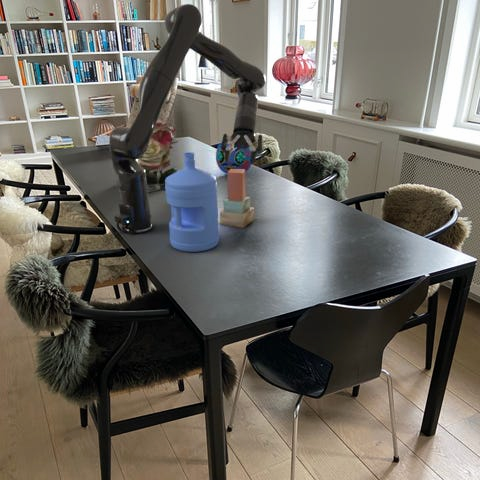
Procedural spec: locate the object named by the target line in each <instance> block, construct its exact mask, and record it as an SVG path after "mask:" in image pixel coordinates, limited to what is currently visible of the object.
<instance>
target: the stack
mask: <svg viewBox="0 0 480 480" xmlns="http://www.w3.org/2000/svg"><path fill="white" fill-rule="evenodd" d="M222 202H223V209H222V210H221V211H219V224H220V225H223V226H229V227H235V228H242V229H244V228H245V227H246V226H247V225H249V224H251V223H252V222H254V220H255V207H251V197H250V196H246V197H245V198H244V200H243V201H232V200H228V197H227V198H224V199H223V201H222Z"/></svg>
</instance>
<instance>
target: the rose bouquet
mask: <svg viewBox="0 0 480 480" xmlns="http://www.w3.org/2000/svg"><path fill="white" fill-rule="evenodd" d="M168 121H169V117H166V119H165V118H164V117H163V116H160V115H159V117H158V119H157V122H156V124H155V127H154V130H153V133H152V136H151V139H150V142H149V145H148V148H147V150H146V152H145V154H144V155H143V156H142V157H141V158H139V159H137V161H138V163H139V164H140V166H142V167H143V168H144V170H145V172H146V180H147V190H148V193H151V192H156V191H160V190H165V180H166V178H167V177H168V176H170V175H172V174H174V173H176V172H178V169H175V167H176V165H174V166H172V167H171V168H169V169H166V168H168V167H170V166H171V160H172V156H173V152H174V147H173V146H172V145H174V144H175V145H176V144H178V142H179V140H178V141H177V140H175V136H174V135H173V134H174V133H175V132H177V131H178V130H177V128H176V127H173V126H171V125H167V122H168ZM174 140H175V141H174ZM164 169H166V170H165V171H163V170H164Z"/></svg>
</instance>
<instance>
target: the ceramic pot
mask: <svg viewBox="0 0 480 480" xmlns="http://www.w3.org/2000/svg"><path fill="white" fill-rule="evenodd" d="M231 142H232V140H230V141H229V142H227V146H226V148H227V147H228V146H229V144H230V143H231ZM221 144H222V141H220V143H219V144H218V145H217V148H216V151H215V161H216V165H217V167H218V168H219V170H220V171H221V172H222V173H225V174H226V175H227V172H228V171H229V170H230V169H245V173H246V172H248V171H249V169H250V168H251V165H252V164H251V163H250V159H251V151H250V149H249V148H247V149H243V148H241V149H238V148H236V149H235V150H234V151H232V152H231V153H230V160H229V163H227V162H226V161H225V152H224V153H223V152H222V150H221Z"/></svg>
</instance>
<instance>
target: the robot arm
mask: <svg viewBox="0 0 480 480" xmlns="http://www.w3.org/2000/svg"><path fill="white" fill-rule="evenodd" d="M202 25H203V18H202V14H201V12H200V9H199V8H198V7H197V6H195V5H194V4H191V3H185V4H181V5H179V6H177V7H174V8H173V9H170V11H169V12H168V13H167V14H166V15H165V19H164V26H165V30H166V32H167V34H168V38H167V39H166V41H165V43H164V44H163V45H162V47H161V48H160V49H159V50H158V52H157V53H156V54H155V55H154V57H153V58H152V59H151V60H150V62H149V64H148V65H147V67H146V69H145V71H144V74H143V76H142V78H141V80H140V83H139V86H138V87H139V88H138V110H137V113H136V116H135V118H134V120H133V122H132V124H131V125H130V127H129V126H124V125H123V126H122V125H120V126H116V127H114V128H113V129H112V131H111V132H110V134H109V139H108V141H109V145H108V146H109V151H110V157H111V162H112V167H113V170H114V172H115V174H116V178H117V183H118V191H119V197H120V202H119V203H118V208H119V213H118V214H115V215H114V222H115V223H116V228H117V229H118V231H119V232H122V231H124V232H126V233H129V234H132V235H134V234H142V233H146V232H149V231H150V230H152V229H153V224H152V214H151V208H150V200H149V199H150V198H149V192H148V190H147V180H146V172H145V170H144V168H143V167H142V166H140V164H139V163H138V161H137V159H139V158H141V157H142V156H143V155H144V154H145V152H146V150H147V148H148V145H149V142H150V139H151V136H152V133H153V130H154V127H155V124H156V122H157V119H158V117H159V116H160V114H161V112H162V111H163V108H164V105H165V103H166V101H167V99H168V97H169V95H170V93H171V90H172V89H173V87H174V84H175V81H176V79H177V77H178V75H179V72H180V70H181V68H182V66H183V64H184V61H185V58H186V56H187V55H188V52H189V50H191V51H193V52H195V53H196V54H198V55H199V56H201V57H203V58H204V59H205V60H206V61H208V62H210V63H211V64H212V65H213V66H215V67H216V68H217V69H218V70H220V71H221V72H222V73H223V74H224V75H225V76H227V77H228V78H230V79H231V80H237V82H236V91H237V97H238V98H237V99H238V102H237V108H236V113H235V118H234V124H233V131H232V133H231V135H228V134H227V133H224V134H223V136H222V140H221V142H222V144H221V150H222V152H223V153H224V152H225V161H226V162H227V163H229V160H230V153H231V152H232V151H234V150H235V149H236V148H238V149H241V148H243V149H247V148H249V149H250V151H251V159H250V163H251V165H254V163H255V162H256V159H257V155H262V154H263V145H264V143H263V142H264V139H263V134H259V135H256V136H255V133H256V128H257V127H256V126H257V119H258V112H257V111H258V107H259V97H258V95H257V94H256V92H258V91H259V90H261V89H262V88H264V87H265V85H266V75H265V73H264V72H263V71H262V70H261V69H260V68H259V67H258V66H256V65H255V64H252V63H250V62H247V61H245V60H243V59H242V58H241V57H239V56H238V55H237V54H236V53H235V52H234V51H232V49H230V48H228V47H227V46H226V45H224V44H222V43H220V42H218V41H215V40H213V39H212V38H209V37H208V36H206V35H204V34H203V33H202V32H201V29H202ZM230 140H232V142H231V143H230V144H229V146H228V147H227V148H226V146H227V142H229V141H230ZM255 141H256V143H257V148H256V147H255V146H254V144H253V143H254V142H255ZM120 225H121V227H120Z"/></svg>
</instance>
